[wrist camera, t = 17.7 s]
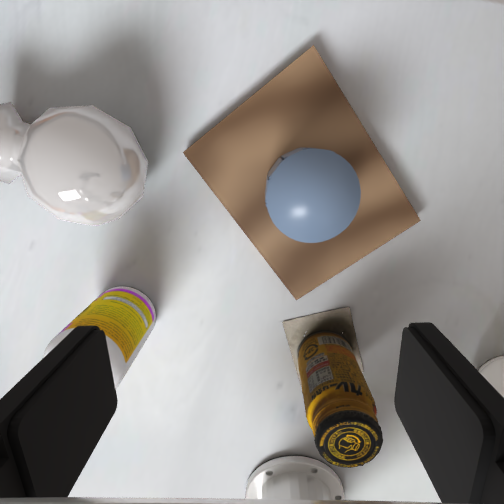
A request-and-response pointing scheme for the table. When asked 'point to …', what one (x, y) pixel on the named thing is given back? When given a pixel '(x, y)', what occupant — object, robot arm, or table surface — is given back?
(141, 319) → the supplement bottle
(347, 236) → the post base
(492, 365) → the lidded jar
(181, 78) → the table surface
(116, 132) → the potion bottle
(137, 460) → the table surface
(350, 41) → the table surface
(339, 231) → the cap
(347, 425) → the condiment
